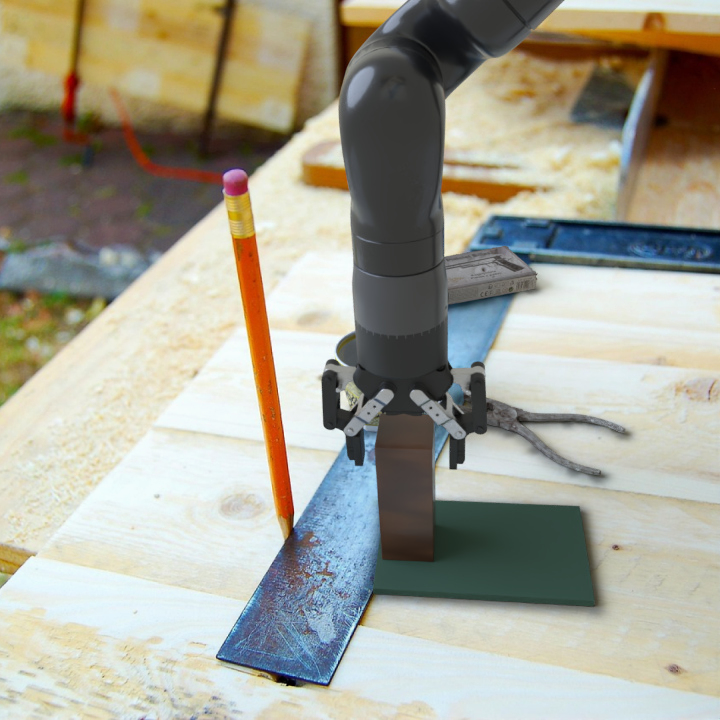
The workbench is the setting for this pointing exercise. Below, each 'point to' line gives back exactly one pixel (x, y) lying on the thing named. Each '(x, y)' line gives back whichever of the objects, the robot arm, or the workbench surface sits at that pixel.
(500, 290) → the box
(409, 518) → the walnut block
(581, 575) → the rubber mat
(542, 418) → the pliers
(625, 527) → the workbench surface
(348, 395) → the ceramic cup
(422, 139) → the robot arm
